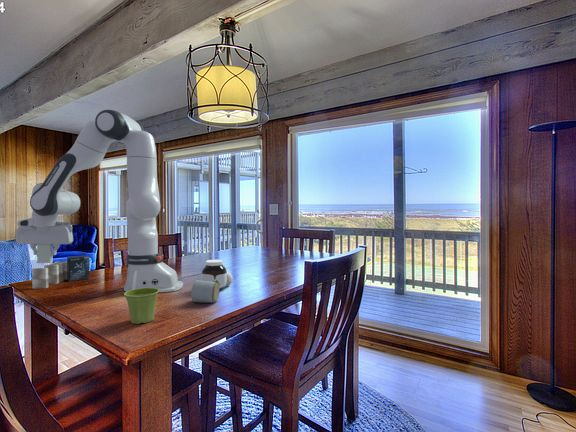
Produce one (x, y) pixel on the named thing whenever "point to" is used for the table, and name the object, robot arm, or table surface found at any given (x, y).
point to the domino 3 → (39, 278)
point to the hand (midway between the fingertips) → (45, 254)
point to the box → (78, 268)
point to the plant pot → (141, 304)
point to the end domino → (64, 269)
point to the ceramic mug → (205, 291)
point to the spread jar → (216, 273)
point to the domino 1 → (44, 253)
